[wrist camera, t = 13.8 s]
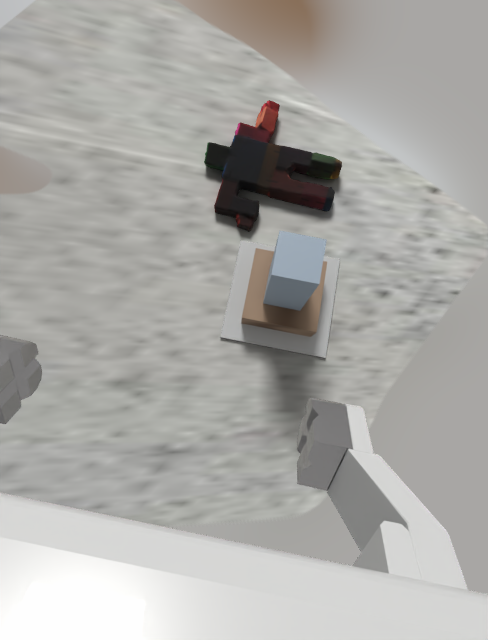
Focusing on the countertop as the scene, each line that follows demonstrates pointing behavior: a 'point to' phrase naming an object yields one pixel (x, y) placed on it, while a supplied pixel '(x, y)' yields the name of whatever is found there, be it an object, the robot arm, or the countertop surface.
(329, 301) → the mat
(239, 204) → the toy
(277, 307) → the base block
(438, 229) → the countertop surface
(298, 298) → the post
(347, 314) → the countertop surface
